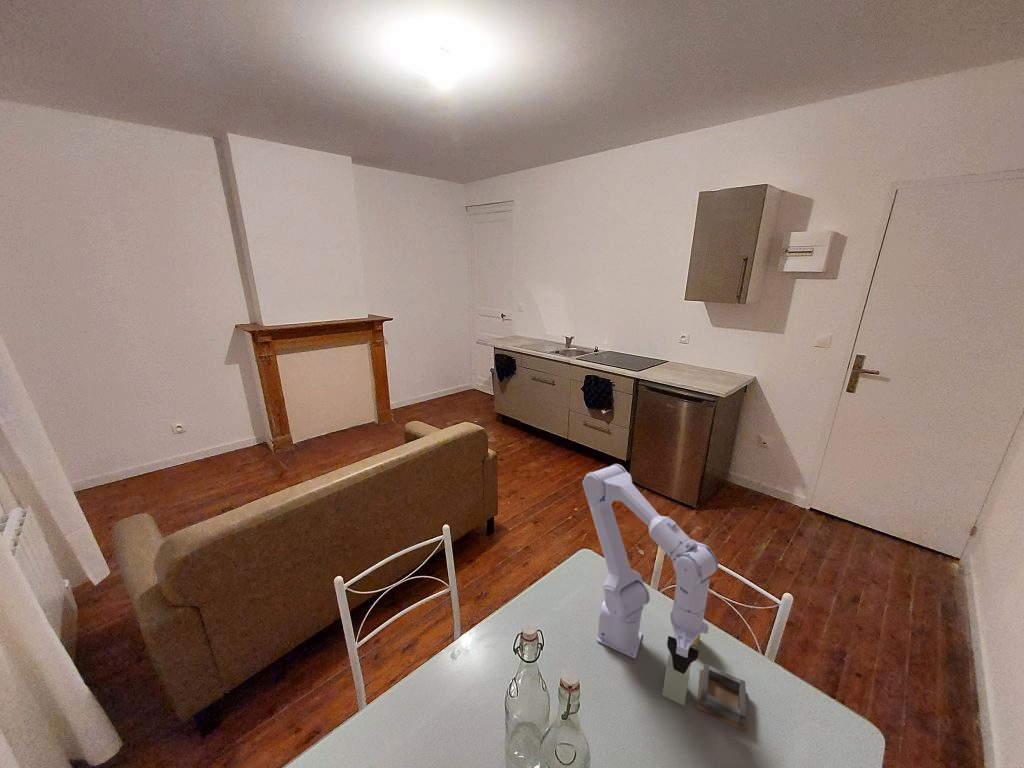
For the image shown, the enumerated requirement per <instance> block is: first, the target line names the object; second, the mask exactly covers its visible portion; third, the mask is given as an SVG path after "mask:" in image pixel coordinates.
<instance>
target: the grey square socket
mask: <svg viewBox="0 0 1024 768" xmlns="http://www.w3.org/2000/svg"><path fill="white" fill-rule="evenodd" d="M696 709H697V710H698V711H701V712H703V713H705V714H707V715H708V716H711V717H714V718H715V719H718V721H719V720H720V721H721V722H723V723H726V724H728V725H729V726H732V727H733V728H736V729H737V730H740V731H741V732H744V733H747V731H748V721H747V718H748V717H747V689H746V681H745V680H744V679H741V678H739V677H736V676H734V675H732V674H729V673H727V672H725V671H723V670H720V669H718V668H715V667H714V666H711V665H709V664H707V663H704V664H703V669H700V670H699V679H698V687H697V699H696Z"/></svg>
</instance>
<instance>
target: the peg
mask: <svg viewBox="0 0 1024 768" xmlns="http://www.w3.org/2000/svg"><path fill="white" fill-rule="evenodd" d="M668 651H669V650H668ZM691 665H692V663H691V664H690V665H689V667H688V669H687V671H686V672H685V674H683V673H680V672H678V671H676V670H674V668H673V663H672V656H671V653H670V651H669V652H668V657H667V663H666V669H665V673H664V674H665V675H664V676H665V677H664V680H663V681H664V683H663V688H662V696H663V697H665V698H667V699H669V700H671V701H674V702H676V703H678V704H680V705H682V706H685V704H686V698H687V693H688V692H687V691H688V685H689V682H690V674H691Z"/></svg>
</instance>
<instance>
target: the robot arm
mask: <svg viewBox="0 0 1024 768" xmlns="http://www.w3.org/2000/svg"><path fill="white" fill-rule="evenodd" d="M581 485H582V487H583V490H584V491H583V492H584V493H585V497H586V500H587V504H588V506H589V510H590V513H591V516H592V520H593V522H594V523H593V524H594V526H595V530H596V532H597V533H596V534H597V537H598V540H599V543H600V547H601V550H602V554H603V557H604V561H605V563H606V567H607V568H606V569H607V571H608V575H607V577H606V579H605V581H604V583H603V585H602V587H603V590H604V592H603V593H604V600H603V602H602V605H601V609H600V613H599V619H598V628H597V629H598V630H597V637H596V641H597V642H598V643H600V644H602V645H605V646H606V647H609V648H611V649H613V650H615V651H617V652H620V653H622V654H624V655H626V656H628V657H630V658H633V659H636V658H637V655H638V651H639V647H640V643H641V641H642V636H643V631H641V630H640V628H641V619H642V612H643V610H644V606H646V605H648V603H650V601H651V595H650V592H649V589H648V587H647V585H646V584H645V582H644V580H643V578H642V574H640V573H639V572H638V571H635V570H634V569H632V568H631V565H630V562H629V561H630V560H629V558H628V554H627V552H626V548H625V545H624V541H623V539H622V536H621V535H622V534H621V532H620V529H619V526H618V522H617V519H616V514H615V511H614V509H613V506H612V504H613V502H622V503H623V504H624V505H625V506H626V507H627V508H628V509H629V510H630V511H631V512H633V513H634V514H635V515H636V516H637V518H639V520H641V521H642V522H643V524H645V525H646V526H648V534H649V537H650V538H651V539H652V540H653V541H654V542H655V543H656V545H658V546H659V547H660V549H661V550H662V551H663V552H664V553H665V554H666V555H667V556H668V558H670V559H671V561H672V567H673V569H674V572H675V575H676V578H675V581H676V584H675V588H674V589H675V590H674V597H673V605H672V611H671V612H670V622H671V625H672V629H673V633H674V637H672V636H670V635H668V637H667V643H666V647H667V649H668V651H670V653H671V656H672V663H673V668H674V670H676V671H678V672H680V673H683V674H685V672H686V671H687V669H688V667H689V665H690V664H691V665H692V663H694V662H695V661H697V660H698V657H699V654H700V650H699V649H696V648H692V647H690V646H691V645H692V644H693V642H694V641H695V640H696V639H697V637H698V636H699V635H700V636H701V634H702V633H703V634H706V635H707V634H708V633H709V627H710V626H709V624H708V623H706V622H704V617H705V612H706V611H705V610H706V606H707V599H708V594H709V588H710V582H711V577H710V576H711V575H713V574H715V572H717V570H718V568H719V562H718V557H716V555H715V552H713V550H712V549H711V548H710V547H709V545H706V544H704V543H701V542H698V541H697V540H695V539H692V538H691V537H689V535H688V534H686V532H685V531H683V529H682V528H680V527H679V526H678V524H677V522H676V521H674V519H672V518H671V517H670V516H667V515H666V516H663V515H660V514H659V513H658V512H657V510H656V509H655V508H654V507H653V506H652V504H650V502H649V501H648V499H646V497H645V496H643V494H642V493H641V492H640V491H639V489H638V488H637V487H636V486H635V484H634V483H633V479H632V475H631V474H630V473H629V472H628V471H627V470H626V469H625V467H624V466H623V465H621V464H619V463H613V464H612V465H610V466H606V467H603V468H601V469H598V470H594V471H590V472H588V473H586V474H585V476H584V478H583V480H582V483H581Z"/></svg>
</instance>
